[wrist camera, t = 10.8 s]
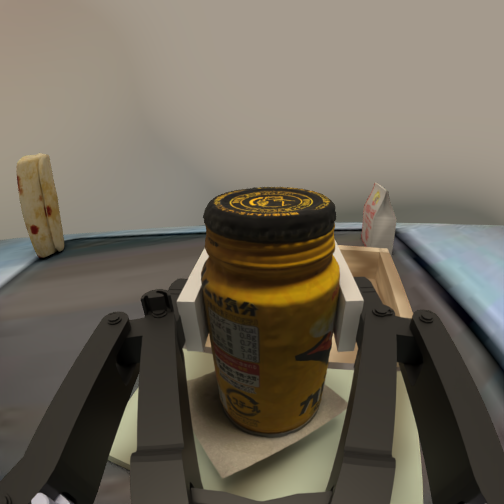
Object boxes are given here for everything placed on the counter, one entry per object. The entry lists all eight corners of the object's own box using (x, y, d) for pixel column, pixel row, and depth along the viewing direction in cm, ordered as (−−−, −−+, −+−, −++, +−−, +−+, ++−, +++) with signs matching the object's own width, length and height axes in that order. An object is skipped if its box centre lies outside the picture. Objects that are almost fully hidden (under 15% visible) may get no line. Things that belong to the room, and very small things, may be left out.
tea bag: (380, 239, 49) (386, 183, 45) (391, 255, 42) (399, 192, 38) (361, 238, 49) (365, 182, 45) (369, 254, 43) (375, 190, 39)
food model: (51, 244, 53) (34, 154, 45) (74, 242, 54) (58, 147, 46) (27, 263, 44) (5, 161, 36) (51, 262, 45) (30, 153, 37)
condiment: (350, 407, 15) (391, 204, 10) (222, 479, 11) (166, 260, 6) (280, 345, 21) (280, 176, 16) (171, 390, 17) (124, 203, 12)
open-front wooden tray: (105, 458, 14) (72, 418, 12) (227, 274, 39) (224, 238, 37) (413, 513, 10) (451, 483, 8) (381, 285, 34) (387, 248, 32)
